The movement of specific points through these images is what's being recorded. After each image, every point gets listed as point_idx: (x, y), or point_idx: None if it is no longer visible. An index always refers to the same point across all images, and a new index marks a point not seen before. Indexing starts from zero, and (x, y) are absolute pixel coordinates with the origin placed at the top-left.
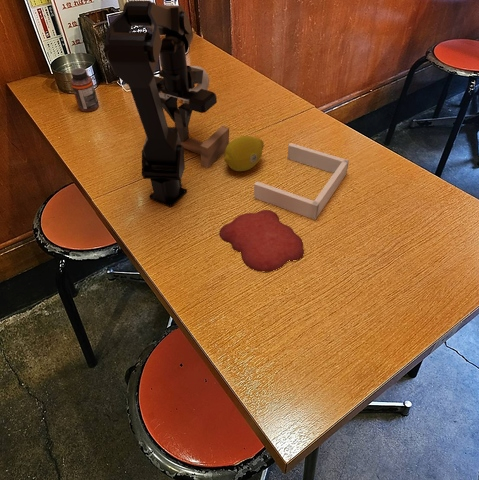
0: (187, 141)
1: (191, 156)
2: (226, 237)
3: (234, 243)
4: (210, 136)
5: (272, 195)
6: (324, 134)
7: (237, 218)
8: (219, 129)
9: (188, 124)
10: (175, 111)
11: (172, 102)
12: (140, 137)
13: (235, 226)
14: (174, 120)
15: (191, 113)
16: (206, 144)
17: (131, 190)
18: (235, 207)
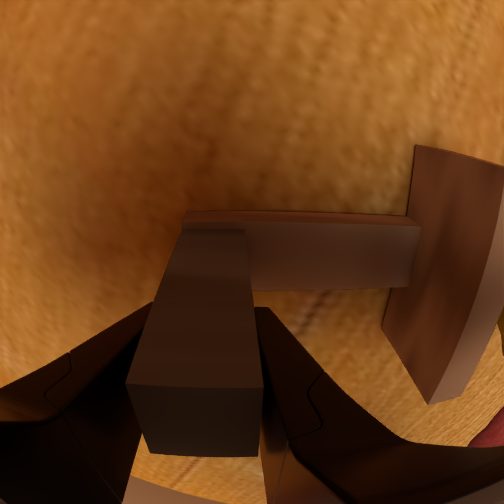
0: (258, 265)
1: (308, 292)
2: None
3: None
4: (466, 324)
5: None
6: None
7: (502, 423)
8: (500, 224)
9: (272, 313)
10: (151, 442)
11: (75, 493)
12: (17, 265)
13: (498, 439)
14: None
15: (330, 380)
16: (454, 383)
17: (223, 467)
18: (497, 396)
